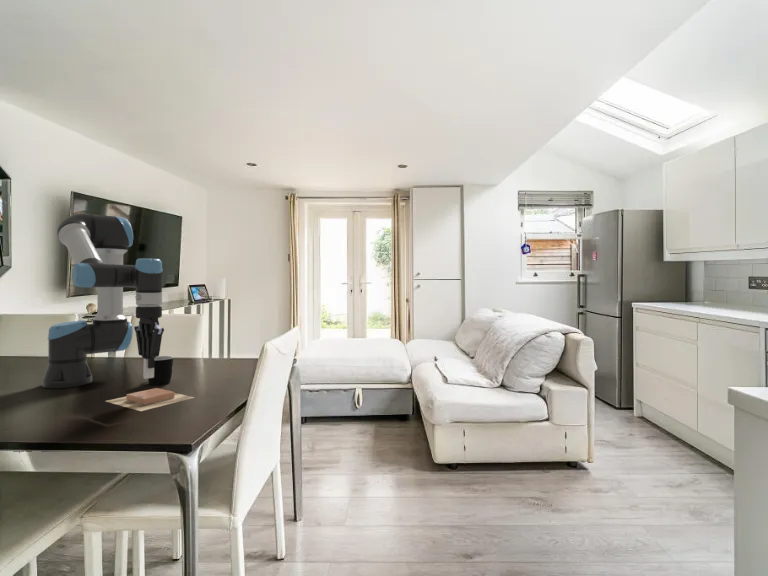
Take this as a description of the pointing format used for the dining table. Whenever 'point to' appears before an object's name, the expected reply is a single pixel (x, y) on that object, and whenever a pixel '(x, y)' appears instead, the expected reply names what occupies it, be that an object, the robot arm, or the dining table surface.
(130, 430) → the dining table surface
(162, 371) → the mug
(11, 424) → the dining table surface
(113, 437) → the dining table surface
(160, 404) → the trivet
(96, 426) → the dining table surface
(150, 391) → the tile
